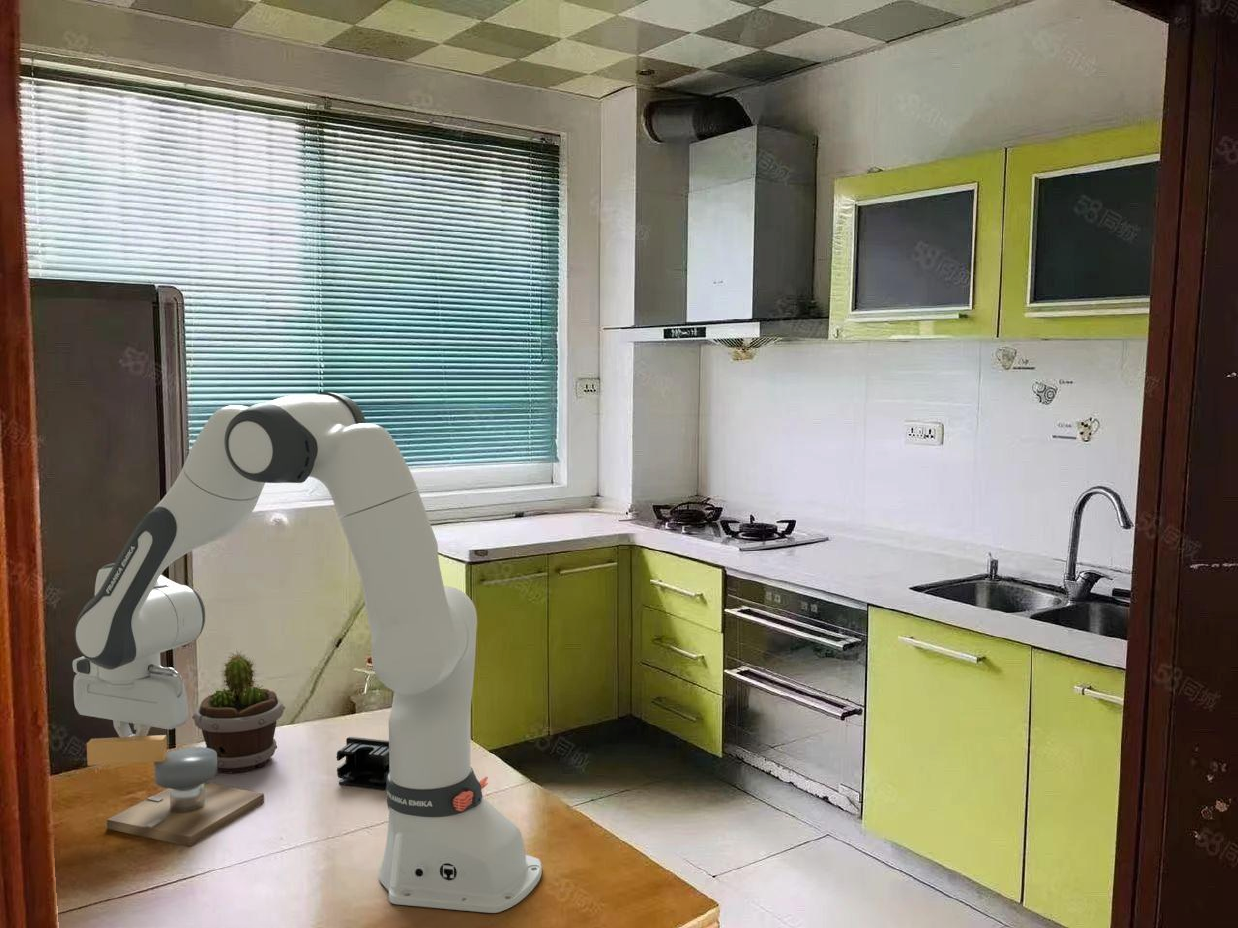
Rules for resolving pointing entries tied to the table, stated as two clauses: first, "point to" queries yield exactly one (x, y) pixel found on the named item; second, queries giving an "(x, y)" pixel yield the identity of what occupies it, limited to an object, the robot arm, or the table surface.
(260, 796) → the base plate
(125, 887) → the table surface
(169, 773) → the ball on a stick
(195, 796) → the short grey cylinder
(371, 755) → the black slotted holder
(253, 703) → the flowerpot
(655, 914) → the table surface
